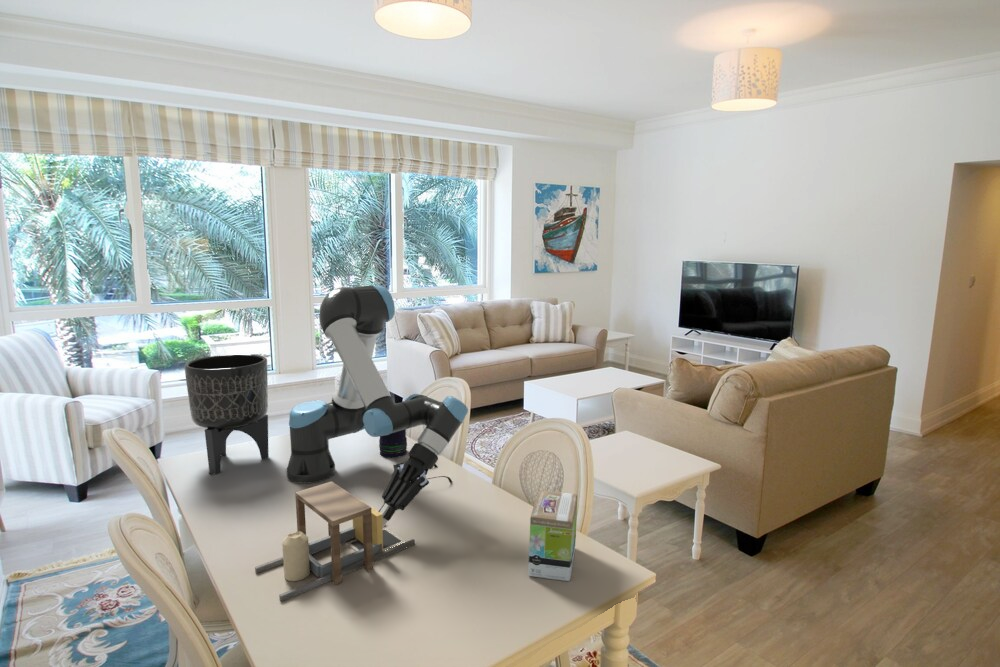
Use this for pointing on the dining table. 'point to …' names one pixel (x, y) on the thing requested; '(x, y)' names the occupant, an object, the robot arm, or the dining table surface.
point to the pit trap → (388, 541)
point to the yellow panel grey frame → (345, 536)
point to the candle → (296, 556)
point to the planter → (229, 401)
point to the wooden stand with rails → (334, 531)
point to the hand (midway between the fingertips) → (375, 529)
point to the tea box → (552, 535)
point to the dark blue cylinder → (393, 444)
